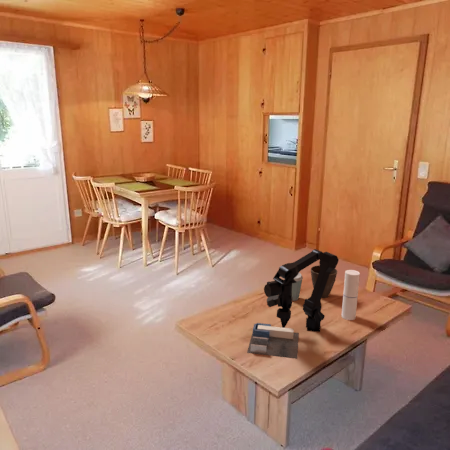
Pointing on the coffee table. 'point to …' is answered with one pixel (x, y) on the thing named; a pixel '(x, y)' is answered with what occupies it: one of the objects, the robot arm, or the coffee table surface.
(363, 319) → the coffee table surface
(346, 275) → the cylindrical container
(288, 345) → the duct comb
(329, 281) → the plant pot
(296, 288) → the disposable coffee cup
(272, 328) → the long cream bar
